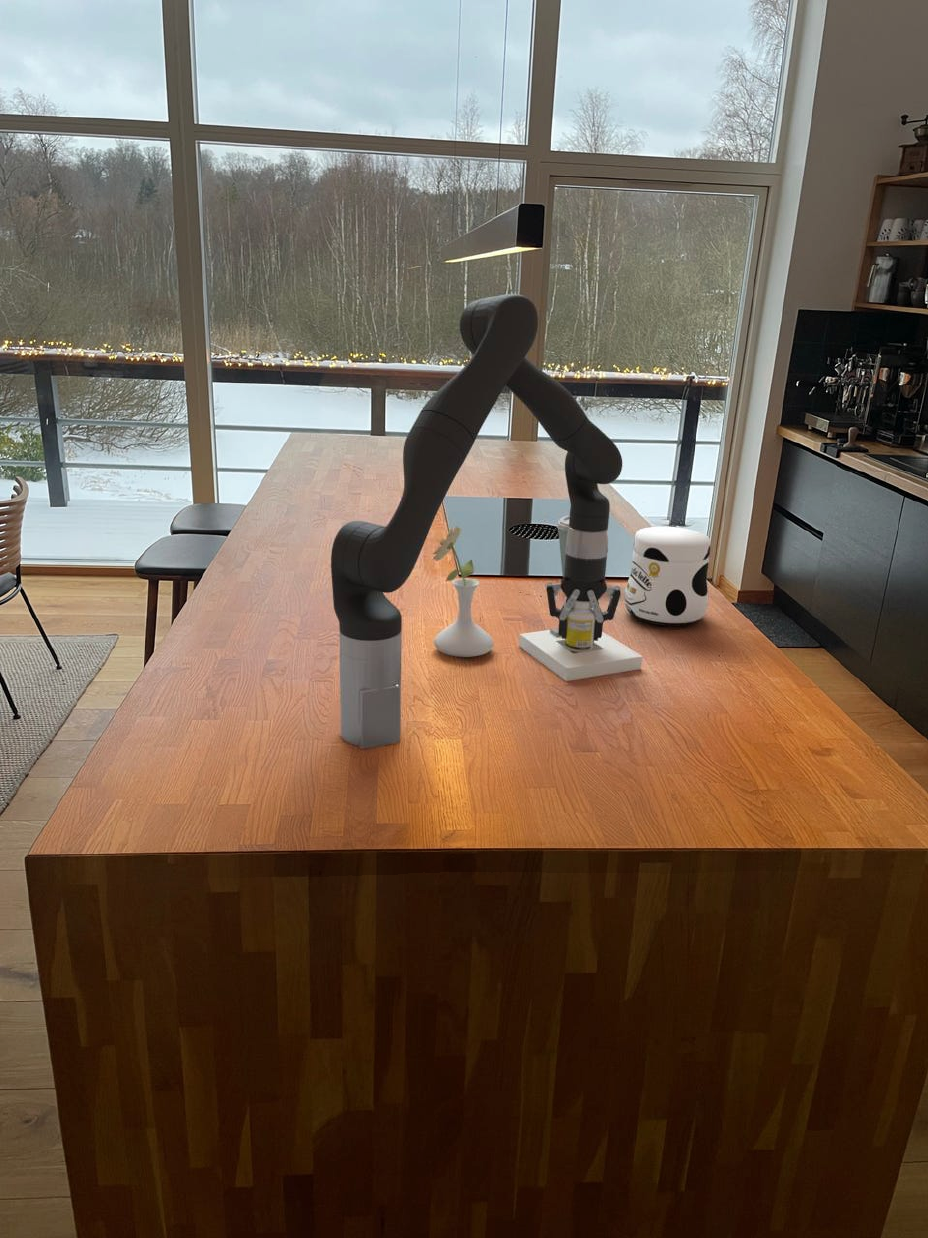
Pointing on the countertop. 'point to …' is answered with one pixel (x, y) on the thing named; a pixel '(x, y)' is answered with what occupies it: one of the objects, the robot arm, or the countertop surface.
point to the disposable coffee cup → (563, 538)
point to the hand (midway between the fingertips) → (579, 638)
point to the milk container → (668, 576)
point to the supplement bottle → (580, 627)
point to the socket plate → (579, 655)
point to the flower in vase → (461, 610)
